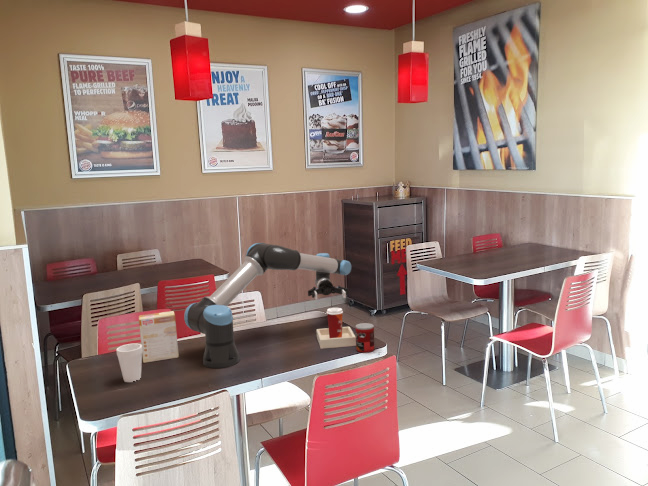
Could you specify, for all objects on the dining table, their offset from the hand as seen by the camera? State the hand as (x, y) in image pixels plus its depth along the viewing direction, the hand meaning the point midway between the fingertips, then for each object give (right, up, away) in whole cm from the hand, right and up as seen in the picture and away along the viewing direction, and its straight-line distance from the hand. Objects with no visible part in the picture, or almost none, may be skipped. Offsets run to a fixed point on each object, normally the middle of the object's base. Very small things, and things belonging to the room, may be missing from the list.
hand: (330, 296), depth 250 cm
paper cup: (+2, -19, -7) cm, 21 cm away
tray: (+2, -20, -7) cm, 21 cm away
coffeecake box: (-75, -25, -19) cm, 81 cm away
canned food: (+15, -22, -20) cm, 33 cm away
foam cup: (-79, -29, -41) cm, 94 cm away
